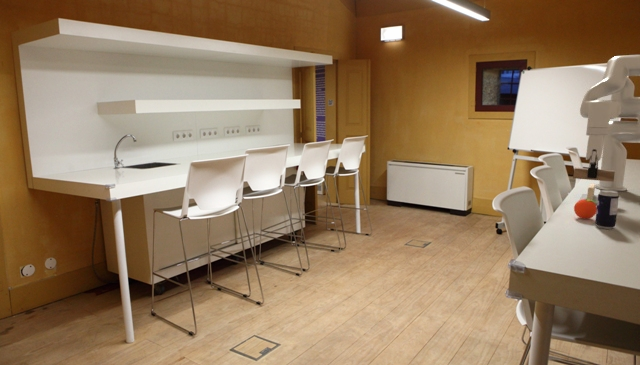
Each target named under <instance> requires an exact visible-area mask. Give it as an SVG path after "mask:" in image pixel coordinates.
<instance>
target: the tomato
mask: <svg viewBox="0 0 640 365" xmlns="http://www.w3.org/2000/svg"><path fill="white" fill-rule="evenodd" d="M579 200H580V199H579ZM579 200H578V201H577V202H575V205H574V206H573V210H574V214H575V215H576V216H577V217H578V218H580V219H583V220H589V219H591V218H593V217H594V216H596V211H597V206H596V205H595V203H594V202H595V201H594V202H593V200H588V199H582V200H580V201H579ZM596 203H597V202H596Z"/></svg>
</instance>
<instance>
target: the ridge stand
mask: <svg viewBox="0 0 640 365" xmlns="http://www.w3.org/2000/svg"><path fill="white" fill-rule="evenodd" d="M595 185H596V183H590V184H589V187H588V188H587V193H582V194H581V196H580V199H579V200H578V201H580V200H582V199H588V200H593V202H594V201H595V202H594V203H595V205H596V207H597V203H596V202H598V194H595V191H596V190H595V189H596V187H595Z"/></svg>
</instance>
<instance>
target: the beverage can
mask: <svg viewBox="0 0 640 365" xmlns="http://www.w3.org/2000/svg"><path fill="white" fill-rule="evenodd" d="M597 195H598V202H597V206H596V207H597V211H596V214H595V222H594V224H595V225H596V226H597V227H598V228H600V229H604V230H610V229H611V230H612V229H613V228H615V227H616V224H617V216H618V207H619V206H618V205H619V198H620V196H619V191H613V190H603V189H599V192H598V194H597Z"/></svg>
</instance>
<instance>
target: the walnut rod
mask: <svg viewBox="0 0 640 365" xmlns="http://www.w3.org/2000/svg"><path fill="white" fill-rule="evenodd" d="M588 168H589V167H588ZM588 168H585V167H574V169H573V175H572V176H573V179H576V180H589V181H590V180H591V181H599V182H600V181H611V182H614V175H615V171H614V170H601V168H600V169H599V168H598V170H597V178H588V177H587V176H588Z"/></svg>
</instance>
